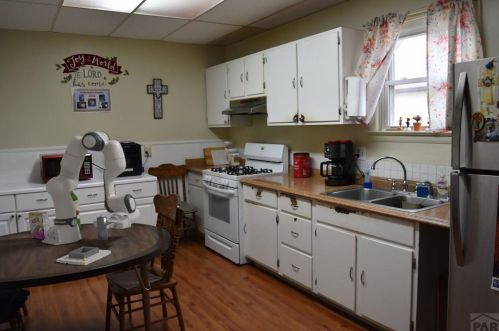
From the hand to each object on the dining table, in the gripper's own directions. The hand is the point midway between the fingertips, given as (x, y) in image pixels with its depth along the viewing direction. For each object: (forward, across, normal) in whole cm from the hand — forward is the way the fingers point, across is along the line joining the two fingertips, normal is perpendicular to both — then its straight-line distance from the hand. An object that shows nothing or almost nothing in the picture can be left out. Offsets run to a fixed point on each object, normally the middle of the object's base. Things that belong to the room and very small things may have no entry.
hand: (101, 226), depth 213 cm
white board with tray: (+14, +1, +12) cm, 19 cm away
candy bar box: (-9, -55, +14) cm, 58 cm away
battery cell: (-1, 0, +7) cm, 7 cm away
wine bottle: (-31, -51, +14) cm, 62 cm away
